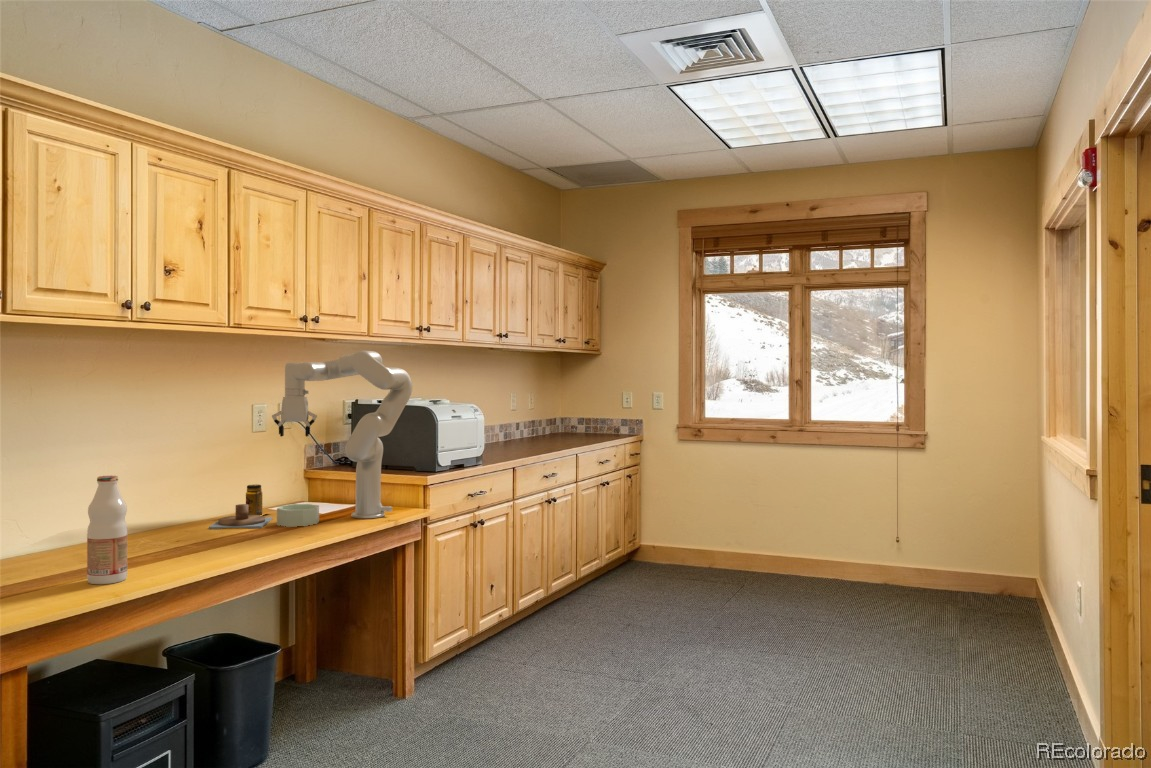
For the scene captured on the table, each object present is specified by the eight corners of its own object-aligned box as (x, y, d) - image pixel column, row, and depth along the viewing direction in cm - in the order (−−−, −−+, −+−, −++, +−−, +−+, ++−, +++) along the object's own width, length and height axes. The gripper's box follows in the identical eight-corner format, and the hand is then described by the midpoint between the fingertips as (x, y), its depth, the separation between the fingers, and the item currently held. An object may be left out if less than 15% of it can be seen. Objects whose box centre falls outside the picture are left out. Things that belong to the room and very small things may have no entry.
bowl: (320, 519, 316) (320, 503, 316) (314, 526, 302) (314, 509, 302) (282, 520, 314) (282, 504, 314) (274, 527, 300) (274, 510, 300)
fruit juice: (91, 587, 216) (92, 479, 216) (83, 580, 223) (83, 476, 223) (131, 581, 223) (132, 476, 222) (121, 574, 230) (122, 473, 229)
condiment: (240, 516, 320) (240, 485, 320) (256, 513, 328) (256, 483, 328) (255, 518, 318) (256, 486, 318) (271, 514, 326) (271, 484, 326)
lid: (269, 517, 314) (269, 501, 314) (259, 525, 298) (259, 508, 298) (224, 518, 312) (225, 501, 312) (212, 526, 296) (212, 509, 296)
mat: (272, 519, 315) (272, 517, 315) (261, 528, 298) (261, 526, 298) (222, 520, 313) (222, 517, 313) (208, 529, 295) (208, 526, 295)
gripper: (318, 393, 336) (318, 435, 336) (274, 392, 334) (273, 435, 334) (315, 393, 329) (315, 437, 329) (270, 393, 326) (269, 437, 326)
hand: (294, 436), depth 331 cm, fingers open, 9 cm apart
